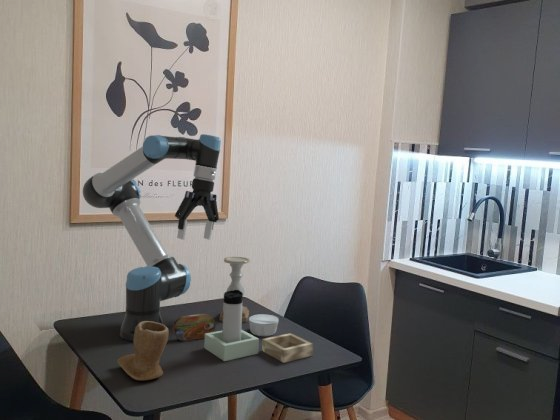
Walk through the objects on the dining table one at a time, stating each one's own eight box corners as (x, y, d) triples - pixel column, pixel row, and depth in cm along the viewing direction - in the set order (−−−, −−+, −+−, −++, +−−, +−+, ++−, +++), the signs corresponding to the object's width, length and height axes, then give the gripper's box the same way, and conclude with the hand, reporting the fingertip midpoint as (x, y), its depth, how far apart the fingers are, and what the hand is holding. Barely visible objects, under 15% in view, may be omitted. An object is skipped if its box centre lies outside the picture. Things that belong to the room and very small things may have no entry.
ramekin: (254, 339, 184) (255, 324, 184) (243, 329, 194) (244, 315, 194) (283, 335, 189) (283, 321, 188) (271, 326, 199) (271, 313, 198)
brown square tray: (283, 362, 163) (284, 350, 163) (261, 350, 173) (262, 339, 173) (312, 355, 171) (313, 343, 170) (290, 344, 180) (290, 333, 180)
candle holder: (222, 313, 213) (224, 255, 211) (249, 314, 213) (251, 257, 210) (218, 321, 202) (221, 261, 200) (246, 322, 202) (249, 262, 199)
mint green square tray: (224, 361, 162) (224, 345, 162) (204, 348, 173) (204, 333, 172) (258, 353, 170) (258, 338, 170) (237, 341, 181) (237, 327, 180)
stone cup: (173, 378, 149) (175, 327, 147) (133, 386, 142) (134, 333, 140) (154, 360, 161) (155, 313, 160) (116, 367, 154) (117, 318, 153)
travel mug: (243, 349, 174) (246, 290, 172) (235, 355, 167) (238, 295, 166) (226, 346, 176) (229, 288, 174) (218, 352, 170) (220, 292, 168)
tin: (174, 342, 177) (174, 318, 176) (171, 339, 180) (172, 315, 179) (215, 337, 184) (216, 314, 183) (212, 334, 187) (213, 311, 186)
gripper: (187, 177, 168) (176, 241, 169) (234, 184, 189) (224, 240, 190) (170, 174, 172) (160, 236, 173) (218, 181, 193) (209, 236, 194)
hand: (194, 238), depth 182 cm, fingers open, 13 cm apart
